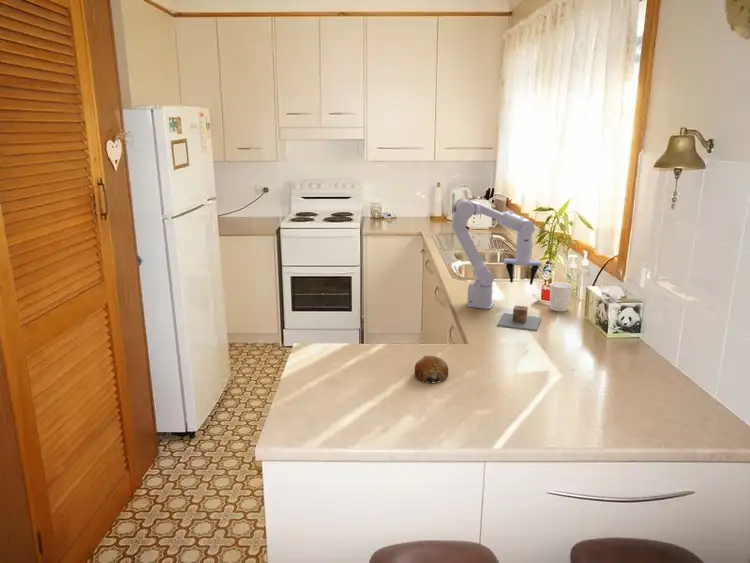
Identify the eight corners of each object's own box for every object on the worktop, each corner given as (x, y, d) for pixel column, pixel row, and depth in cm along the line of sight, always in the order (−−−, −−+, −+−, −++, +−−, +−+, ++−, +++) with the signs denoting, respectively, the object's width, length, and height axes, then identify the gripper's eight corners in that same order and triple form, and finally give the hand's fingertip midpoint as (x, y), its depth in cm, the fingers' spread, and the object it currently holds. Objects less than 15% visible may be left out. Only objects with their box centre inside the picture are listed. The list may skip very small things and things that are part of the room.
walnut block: (512, 321, 208) (513, 308, 207) (514, 318, 212) (515, 305, 211) (525, 323, 206) (525, 310, 205) (526, 319, 210) (527, 306, 209)
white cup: (566, 306, 228) (568, 282, 225) (571, 312, 220) (573, 287, 217) (546, 305, 228) (548, 281, 226) (550, 311, 221) (552, 287, 218)
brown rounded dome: (450, 386, 166) (454, 359, 167) (440, 385, 157) (445, 357, 158) (418, 380, 170) (423, 354, 171) (407, 379, 161) (412, 351, 162)
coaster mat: (496, 326, 205) (497, 324, 205) (503, 314, 218) (503, 313, 218) (536, 331, 200) (536, 329, 200) (541, 319, 213) (541, 317, 213)
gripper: (503, 250, 222) (501, 283, 225) (541, 253, 216) (538, 287, 220) (506, 246, 228) (504, 279, 232) (543, 249, 223) (540, 282, 226)
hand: (521, 283), depth 226 cm, fingers open, 7 cm apart
